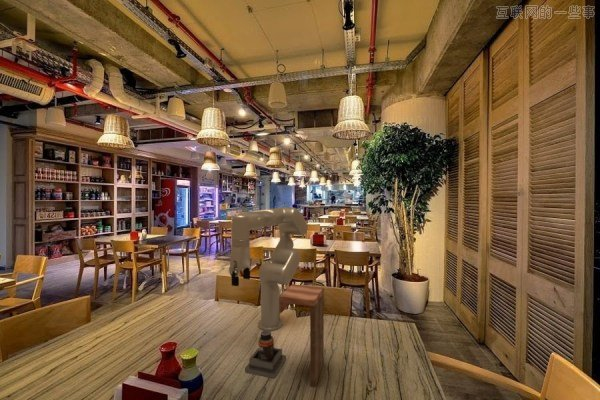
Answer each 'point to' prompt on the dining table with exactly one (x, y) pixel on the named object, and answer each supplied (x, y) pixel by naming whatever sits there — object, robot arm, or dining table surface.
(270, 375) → the socket
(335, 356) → the dining table surface
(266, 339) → the supplement bottle
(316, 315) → the wooden inverted l post
